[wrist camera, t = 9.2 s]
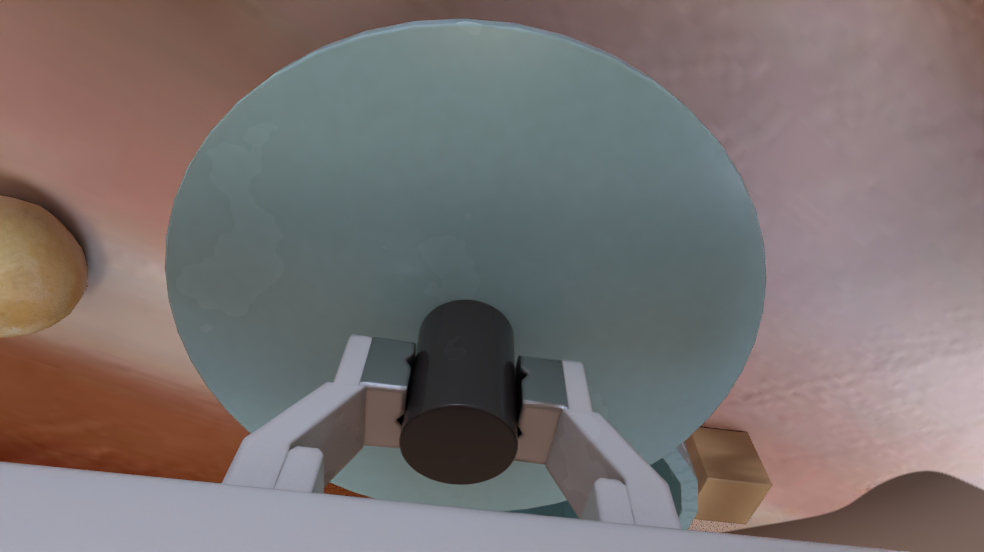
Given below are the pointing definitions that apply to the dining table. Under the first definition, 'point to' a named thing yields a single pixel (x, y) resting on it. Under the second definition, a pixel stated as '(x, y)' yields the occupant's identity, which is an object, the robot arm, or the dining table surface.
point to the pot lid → (467, 248)
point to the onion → (36, 269)
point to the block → (726, 475)
